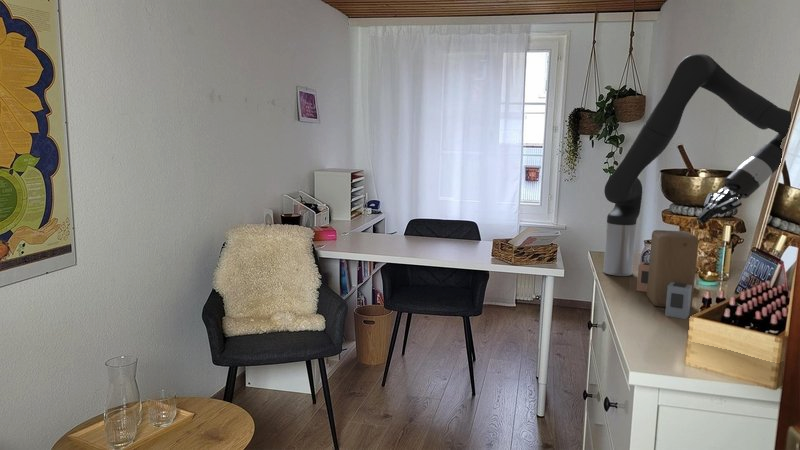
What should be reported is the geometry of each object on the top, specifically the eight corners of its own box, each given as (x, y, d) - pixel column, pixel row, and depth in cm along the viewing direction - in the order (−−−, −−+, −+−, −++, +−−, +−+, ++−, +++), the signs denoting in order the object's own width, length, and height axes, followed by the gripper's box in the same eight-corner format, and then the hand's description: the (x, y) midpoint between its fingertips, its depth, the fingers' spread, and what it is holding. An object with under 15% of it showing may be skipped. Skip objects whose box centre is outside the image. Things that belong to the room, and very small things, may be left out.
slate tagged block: (668, 310, 155) (671, 280, 153) (689, 314, 152) (692, 284, 150) (664, 315, 150) (667, 285, 149) (685, 319, 148) (688, 288, 146)
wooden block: (692, 309, 156) (700, 237, 152) (653, 307, 158) (659, 235, 154) (682, 299, 165) (689, 231, 162) (645, 297, 167) (651, 229, 164)
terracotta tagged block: (640, 286, 178) (642, 260, 177) (657, 289, 176) (660, 263, 174) (636, 290, 174) (638, 263, 173) (653, 293, 171) (656, 266, 170)
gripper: (724, 166, 163) (678, 208, 164) (755, 169, 150) (705, 215, 151) (741, 184, 164) (695, 227, 165) (773, 189, 151) (722, 235, 152)
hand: (700, 221), depth 158 cm, fingers closed
